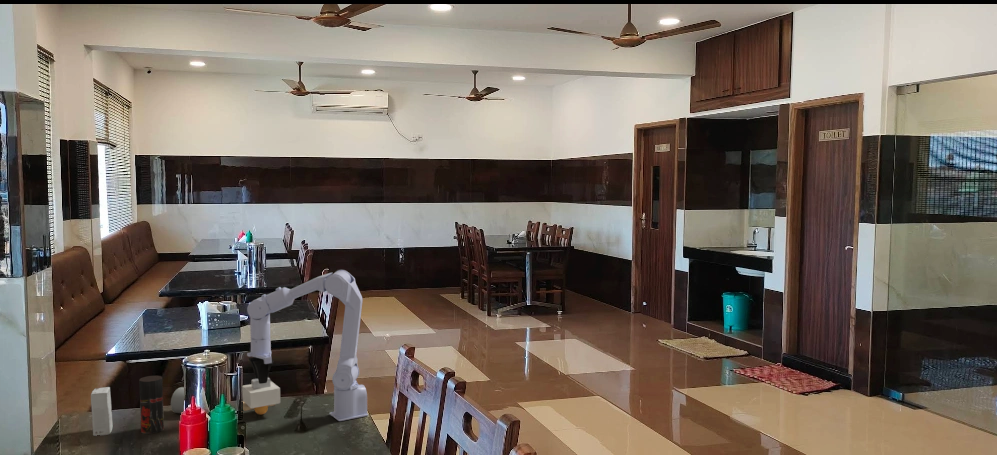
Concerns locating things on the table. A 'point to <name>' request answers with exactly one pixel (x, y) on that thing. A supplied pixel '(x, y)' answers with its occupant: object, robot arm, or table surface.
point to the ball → (261, 409)
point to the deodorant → (151, 404)
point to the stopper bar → (246, 407)
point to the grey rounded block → (178, 400)
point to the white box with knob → (260, 393)
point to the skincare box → (101, 411)
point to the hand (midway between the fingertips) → (261, 381)
